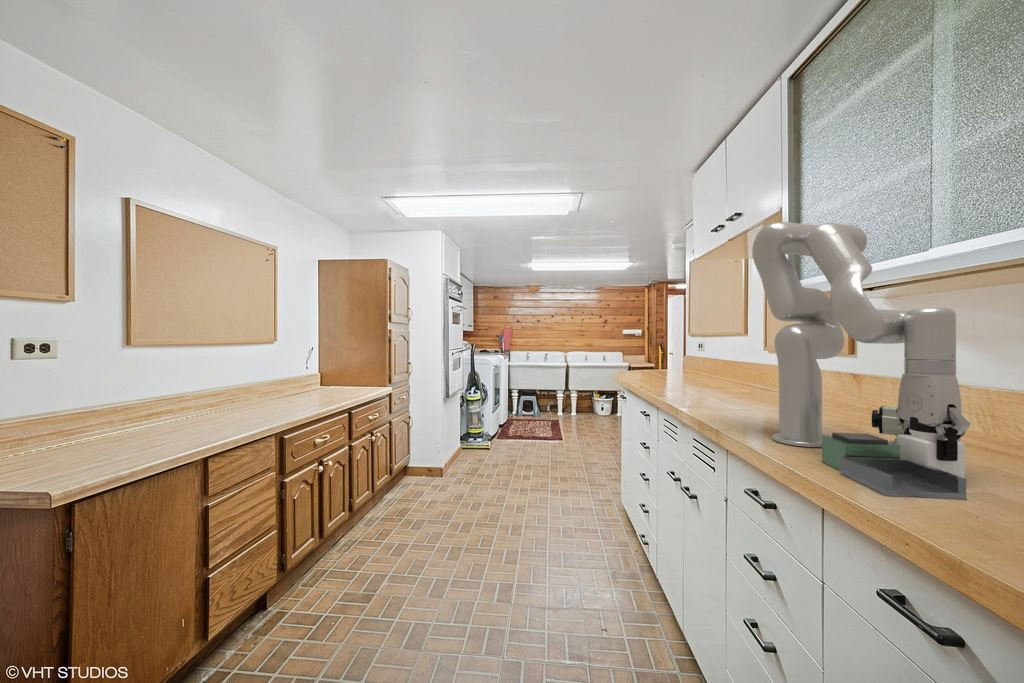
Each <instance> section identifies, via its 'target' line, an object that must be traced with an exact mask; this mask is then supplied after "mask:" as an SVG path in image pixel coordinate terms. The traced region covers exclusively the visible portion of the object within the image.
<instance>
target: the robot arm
mask: <svg viewBox="0 0 1024 683" xmlns="http://www.w3.org/2000/svg"><path fill="white" fill-rule="evenodd" d="M867 245H868V237H867V234H866V233H865V232H864V230H862V228H860V227H858V226H856V225H851V224H844V223H836V222H835V223H833V222H827V223H826V222H825V223H821V224H818V225H817V224H808V223H800V222H799V223H797V222H789V221H777V222H771V223H769V224H766V225H765V226H763V227H762V228H761V229H760V230H759V231H758V233H757V234H756V236H755V238H754V241H753V245H752V259H753V264H754V265H755V268H756V270H757V272H758V275H759V276H760V280H761V282H762V287H763V291H764V293H765V297H766V300H767V302H768V307H769V310H770V312H771V314H772V316H773V317H774V318H775V319H776V320H779V321H781V322H791V323H792V322H798V323H794V324H793V323H792V324H788V325H785V326H784V327H782V328H781V329H779V330H778V332H777V333H776V335H775V337H774V350H775V355H776V360H777V366H778V368H777V369H778V423H777V427H778V432H776V433H773V434H772V438H771V439H772V440H773V441H774V442H777V443H780V444H783V445H784V444H785V445H790V446H795V447H801V448H803V447H804V448H822V435H823V389H822V388H823V377H822V372H821V368H820V365H819V363H818V361H817V360H827V359H833V358H835V357H837V356H838V355H840V354H841V353H842V351H843V349H844V346H845V337H844V336H845V335H844V332H843V330H844V331H845V332H846V334H847V335H848V336H850V338H852V339H853V340H855V341H856V342H858V343H863V344H883V345H885V344H889V345H891V344H894V345H896V344H904V347H903V349H904V353H903V354H904V362H903V364H904V367H903V368H904V372H903V373H902V375H901V379H900V382H899V383H900V384H899V388H898V397H897V398H898V399H897V407H898V408H897V409H896V413H897V415H898V416H899V420H900V422H901V424H902V429H903V430H905V431H904V435H911V433H910V432H909V421H910V417H916V418H917V419H918V422H919V423H921V424H923V425H927V426H935V429H936V431H937V433H938V435H939V438H940V440H937V459H938V460H940V461H957V460H958V442H961V440H962V437H963V436H964V435H965V434H966V431H967V430H969V428H970V427H971V423H970V422H969V421H968V420H967V419H966V417H965V416H964V415H962V400H961V399H962V398H961V391H960V385H959V381H958V377H957V314H956V312H955V310H954V309H951V308H948V307H922V308H914V309H910V310H902V309H901V310H897V309H879V308H878V309H877V308H875V306H874V305H873V303H872V302H871V301H870V299H869V298H868V296H867V295H866V294H865V293H866V292H865V291H864V288H863V286H862V285H863V284H862V283H863V281H865V280H866V279H867V278H868V277H869V276H870V275H871V273H872V272H873V266H872V264H871V263H870V262H869V260H867V259H868V258H866V257H865V255H864V254H863V252H864V251H865V249H866V248H867ZM786 255H790V256H791V255H794V256H803V257H804V256H805V257H812V259H813V261H814V262H815V264H816V265H817V266H818V268H819V270H820V271H821V273H822V274H823V275H824V276H825V278H826V281H828V283H829V285H830V292H829V295H828V294H826V293H825V292H824V291H823V290H822V289H821V290H820V289H818V288H813V287H804V286H803V285H802V283H801V281H800V279H799V276H798V272H797V270H796V267H795V266H794V265H793V263H792V262H791V261H790V260H789V259H788V258H787V256H786ZM842 328H843V329H842ZM943 422H947V424H942V423H943ZM944 429H948V430H949V431H947V432H945V430H944Z"/></svg>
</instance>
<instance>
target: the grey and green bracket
mask: <svg viewBox="0 0 1024 683" xmlns="http://www.w3.org/2000/svg"><path fill="white" fill-rule="evenodd" d="M821 462H822V463H823V462H824V463H823V464H825V463H826V465H827V464H828V466H829V465H830V466H829V467H831V466H832V468H834V469H836V470H838V471H839V474H841V475H842V476H844V477H846V478H849V479H850V478H851V479H850V480H852V481H854V480H855V481H854V482H856V481H857V483H858V482H859V483H858V484H860V483H861V485H862V484H863V486H864V485H865V486H864V487H866V486H867V487H866V488H868V487H869V488H868V489H870V488H871V491H875V492H877V493H879V494H880V495H883V496H886V497H901V496H905V497H906V498H927V499H945V498H947V499H949V500H967V478H966V477H965V478H962V477H959V476H956V475H953V474H950V473H948V472H945V471H942V470H939V469H936V468H933V467H930V466H928V465H925V464H922V463H919V462H916V461H913V460H910V459H900V445H897V444H893V443H890V441H889V440H888V439H886V438H882V437H879V436H875V435H873V434H870V433H852V432H851V433H849V432H832V433H831V435H829V434H828V435H827V434H826V435H825V434H822V447H821ZM947 499H946V500H947Z"/></svg>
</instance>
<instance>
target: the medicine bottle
mask: <svg viewBox="0 0 1024 683" xmlns="http://www.w3.org/2000/svg"><path fill="white" fill-rule="evenodd" d="M942 424H947V422H943V423H942ZM944 430H945V432H947V431H949V430H948V429H944ZM909 432H910V433H911V435H898V436H897V438H896V439H897V445H900V459H910V460H913V461H916V462H919V463H922V464H925V465H928V466H930V467H933V468H936V469H939V470H942V471H945V472H948V473H950V474H953V475H956V476H959V477H962V478H965V479H966V477H965V476H966V475H965V472H966V471H965V469H966V468H965V466H966V465H965V463H966V462H965V457H966V456H965V455H966V454H965V451H966V450H965V449H966V448H965V446H966V445H965V443H964V442H961V441H958V460H957V461H940V460H938V459H937V440H940V438H939V435H938V433H937V431H936V429H935V426H927V425H923V424H921V423H919V422H918V419H917V418H916V417H910V421H909Z"/></svg>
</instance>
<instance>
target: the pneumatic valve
mask: <svg viewBox="0 0 1024 683" xmlns="http://www.w3.org/2000/svg"><path fill="white" fill-rule="evenodd" d="M897 408H898V406H890V405H889V406H887V405H881V406H880V407H879V408H878V409H879V410H878V409H872V412H871V427H872V428H875V429H877V430H878V432H879V433H878V434H881V435H883V434H884V435H890V436H891V435H892V436H895V438H894V440H890V441H889V442H890V443H893V444H897V436H898V435H904V431H905V430H903V429H902V424H901V422H900V420H899V416H898V415H897V413H896V409H897Z"/></svg>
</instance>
